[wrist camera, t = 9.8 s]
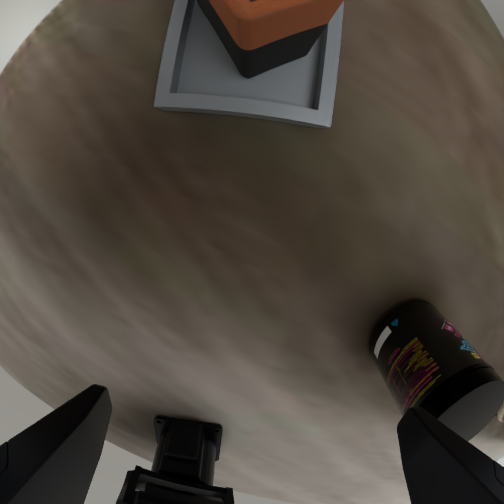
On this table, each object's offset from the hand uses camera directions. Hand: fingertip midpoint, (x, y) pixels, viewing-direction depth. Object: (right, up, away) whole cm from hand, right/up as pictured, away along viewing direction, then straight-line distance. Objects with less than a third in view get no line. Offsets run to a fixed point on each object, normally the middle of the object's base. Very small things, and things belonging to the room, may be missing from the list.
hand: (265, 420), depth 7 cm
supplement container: (+12, -2, +15) cm, 19 cm away
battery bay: (0, +19, +7) cm, 20 cm away
